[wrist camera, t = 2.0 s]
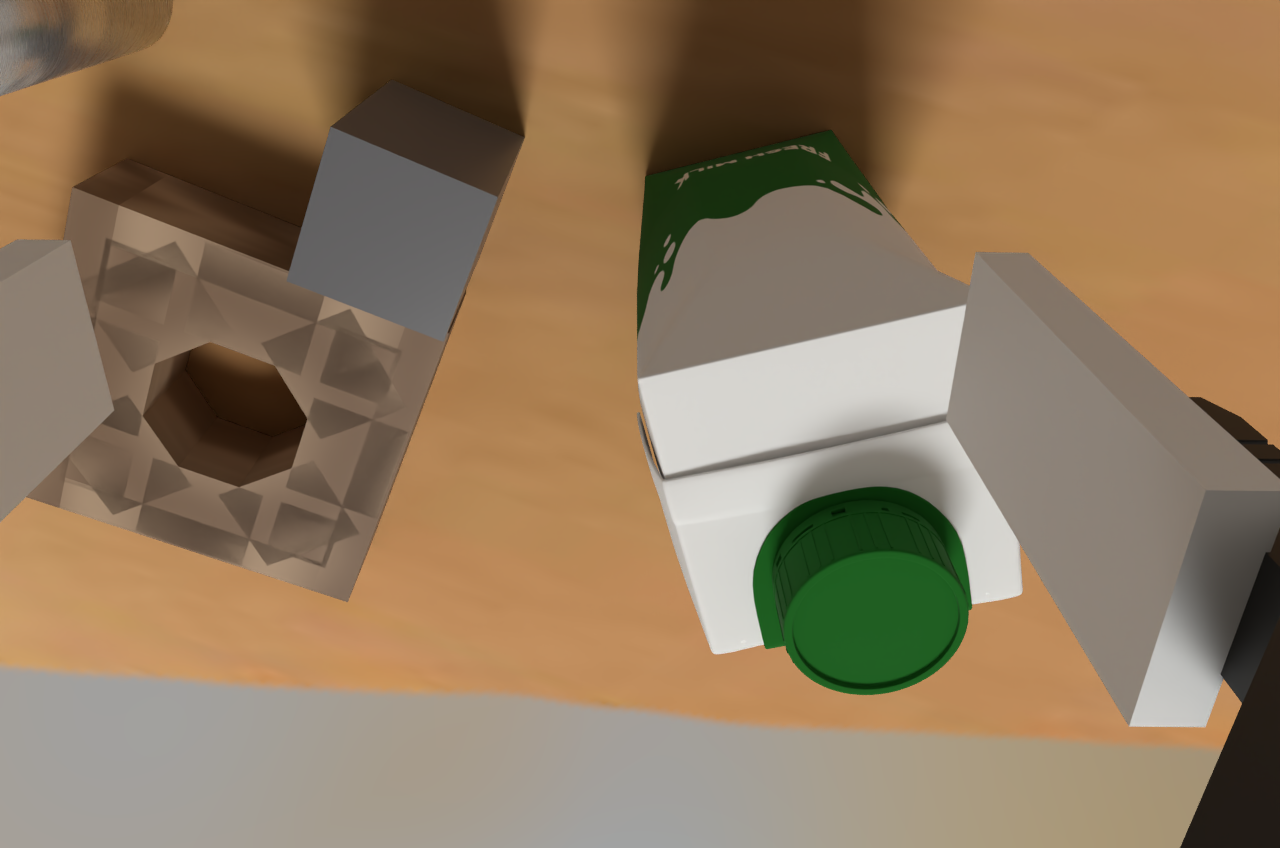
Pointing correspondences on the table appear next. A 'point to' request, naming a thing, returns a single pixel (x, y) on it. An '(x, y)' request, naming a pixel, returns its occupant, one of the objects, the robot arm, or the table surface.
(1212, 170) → the table surface
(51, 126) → the table surface
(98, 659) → the table surface
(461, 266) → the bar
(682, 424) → the milk carton
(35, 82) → the rod
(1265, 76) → the table surface
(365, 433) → the socket block
